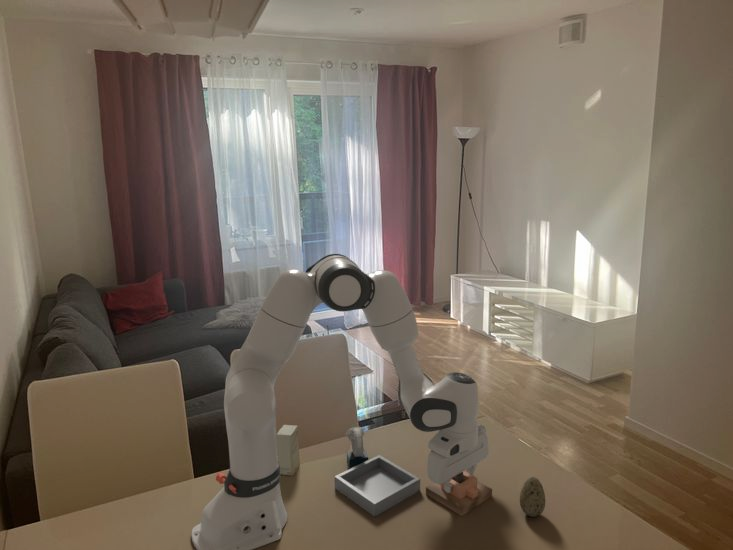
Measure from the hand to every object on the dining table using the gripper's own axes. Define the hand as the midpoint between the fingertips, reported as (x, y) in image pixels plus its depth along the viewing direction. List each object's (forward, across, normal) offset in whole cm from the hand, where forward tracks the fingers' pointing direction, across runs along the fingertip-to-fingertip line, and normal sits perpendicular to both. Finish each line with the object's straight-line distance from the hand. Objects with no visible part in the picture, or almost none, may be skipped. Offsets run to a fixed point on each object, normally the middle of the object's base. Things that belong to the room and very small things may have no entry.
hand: (458, 484), depth 139 cm
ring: (+1, 0, 0) cm, 1 cm away
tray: (+3, +14, -16) cm, 21 cm away
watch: (+3, +10, -29) cm, 31 cm away
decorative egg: (+3, -7, +17) cm, 19 cm away
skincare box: (+3, +26, -40) cm, 48 cm away
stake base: (+3, 0, 0) cm, 3 cm away
